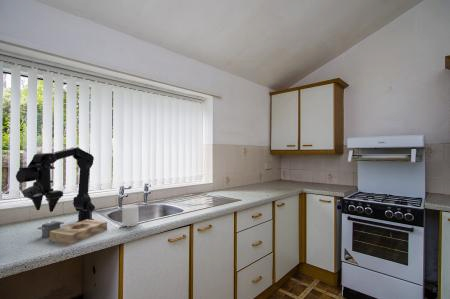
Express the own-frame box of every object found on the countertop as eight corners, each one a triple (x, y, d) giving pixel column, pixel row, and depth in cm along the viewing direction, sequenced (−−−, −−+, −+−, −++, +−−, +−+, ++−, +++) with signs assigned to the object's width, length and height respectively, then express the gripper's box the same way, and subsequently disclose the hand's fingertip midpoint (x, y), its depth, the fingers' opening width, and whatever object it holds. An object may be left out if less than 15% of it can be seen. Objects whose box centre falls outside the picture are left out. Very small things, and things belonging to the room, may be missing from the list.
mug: (118, 223, 136) (117, 205, 136) (132, 220, 141) (132, 202, 141) (125, 228, 127) (125, 209, 127) (140, 224, 132) (140, 206, 132)
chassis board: (86, 226, 130) (86, 219, 130) (107, 229, 125) (106, 221, 125) (49, 240, 111) (49, 231, 111) (71, 243, 106) (71, 234, 106)
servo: (58, 231, 123) (58, 218, 123) (63, 232, 121) (63, 218, 121) (37, 238, 113) (37, 224, 113) (43, 239, 112) (43, 225, 112)
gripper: (11, 181, 110) (12, 214, 111) (38, 182, 104) (40, 217, 105) (37, 177, 121) (38, 207, 121) (63, 179, 115) (64, 210, 115)
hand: (44, 210), depth 115 cm, fingers open, 9 cm apart
